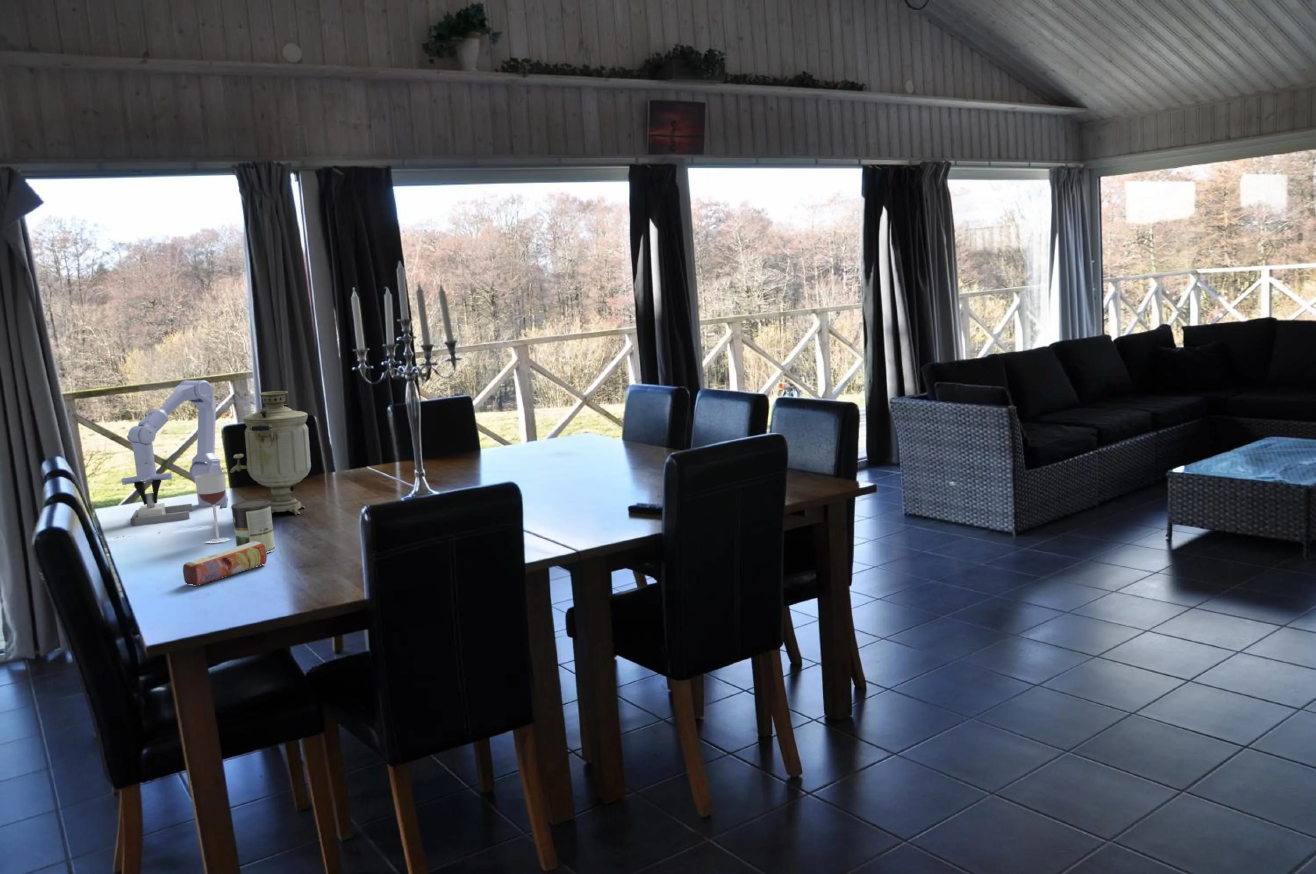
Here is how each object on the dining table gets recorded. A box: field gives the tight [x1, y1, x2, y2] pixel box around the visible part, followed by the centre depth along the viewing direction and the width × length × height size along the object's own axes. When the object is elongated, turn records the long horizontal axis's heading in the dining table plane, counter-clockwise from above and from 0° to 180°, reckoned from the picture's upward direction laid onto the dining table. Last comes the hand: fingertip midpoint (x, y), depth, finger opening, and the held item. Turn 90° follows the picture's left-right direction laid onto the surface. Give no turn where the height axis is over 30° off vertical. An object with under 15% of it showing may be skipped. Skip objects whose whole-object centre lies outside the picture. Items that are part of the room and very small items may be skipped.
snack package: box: [182, 541, 268, 585], centre depth 270 cm, size 21×7×7 cm, turn 147°
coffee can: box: [230, 499, 276, 552], centre depth 292 cm, size 10×10×14 cm
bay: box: [130, 503, 194, 527], centre depth 339 cm, size 17×14×4 cm
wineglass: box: [194, 471, 227, 542], centre depth 307 cm, size 8×9×20 cm
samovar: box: [229, 390, 312, 516], centre depth 340 cm, size 30×26×40 cm
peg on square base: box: [137, 492, 166, 517], centre depth 338 cm, size 7×9×8 cm
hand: (150, 503), depth 338 cm, fingers closed on peg on square base, 2 cm apart
